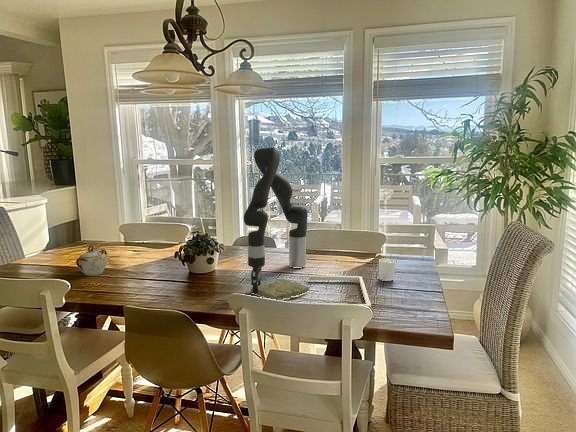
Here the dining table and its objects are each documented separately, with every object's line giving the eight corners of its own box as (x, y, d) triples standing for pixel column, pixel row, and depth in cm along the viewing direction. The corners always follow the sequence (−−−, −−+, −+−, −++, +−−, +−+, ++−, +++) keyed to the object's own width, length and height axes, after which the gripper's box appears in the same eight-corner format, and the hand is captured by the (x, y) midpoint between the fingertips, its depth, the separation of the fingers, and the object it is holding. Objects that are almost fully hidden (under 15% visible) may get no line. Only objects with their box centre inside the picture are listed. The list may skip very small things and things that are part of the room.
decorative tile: (250, 294, 186) (249, 286, 185) (282, 283, 199) (282, 276, 199) (277, 305, 172) (277, 297, 172) (311, 293, 186) (311, 286, 185)
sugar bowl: (89, 280, 204) (87, 251, 202) (66, 277, 210) (64, 248, 207) (118, 269, 223) (116, 242, 220) (97, 266, 228) (94, 240, 225)
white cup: (378, 282, 200) (379, 262, 199) (377, 277, 208) (378, 258, 206) (395, 282, 199) (396, 262, 198) (393, 277, 207) (394, 258, 205)
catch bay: (309, 281, 202) (309, 275, 202) (361, 282, 200) (361, 276, 200) (306, 311, 166) (306, 303, 165) (370, 312, 164) (371, 305, 163)
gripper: (250, 250, 190) (251, 284, 193) (245, 259, 176) (245, 295, 179) (266, 251, 189) (267, 285, 192) (262, 259, 175) (262, 295, 178)
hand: (256, 289), depth 185 cm, fingers open, 8 cm apart
